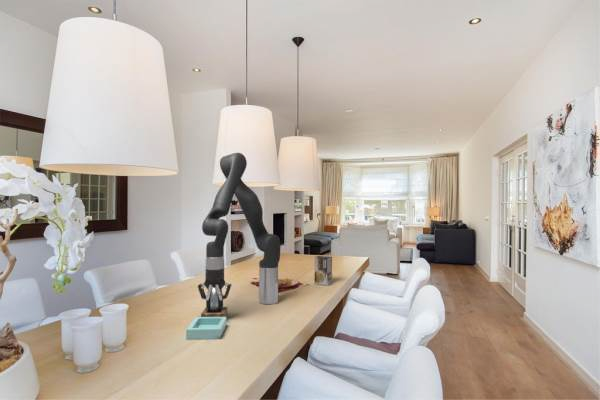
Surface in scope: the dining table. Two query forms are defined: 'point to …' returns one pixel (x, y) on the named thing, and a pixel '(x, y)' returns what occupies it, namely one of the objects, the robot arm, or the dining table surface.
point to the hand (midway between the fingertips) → (214, 308)
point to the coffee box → (323, 270)
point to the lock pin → (214, 301)
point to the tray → (206, 328)
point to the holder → (222, 313)
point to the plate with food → (284, 283)
